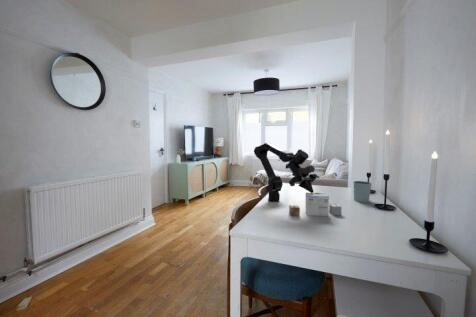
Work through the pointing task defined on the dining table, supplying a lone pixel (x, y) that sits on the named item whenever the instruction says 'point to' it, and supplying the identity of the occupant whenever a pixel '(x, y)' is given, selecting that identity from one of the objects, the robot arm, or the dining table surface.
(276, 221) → the dining table surface
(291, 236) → the dining table surface
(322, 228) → the dining table surface
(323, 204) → the light bulb box
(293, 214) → the brown bevelled block
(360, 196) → the grey green container
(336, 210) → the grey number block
